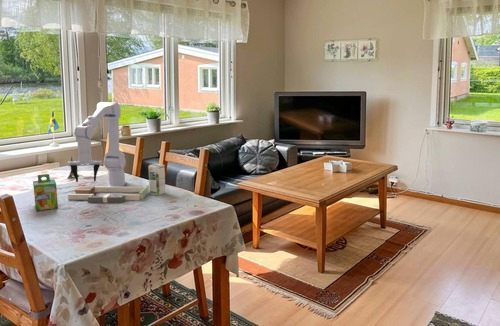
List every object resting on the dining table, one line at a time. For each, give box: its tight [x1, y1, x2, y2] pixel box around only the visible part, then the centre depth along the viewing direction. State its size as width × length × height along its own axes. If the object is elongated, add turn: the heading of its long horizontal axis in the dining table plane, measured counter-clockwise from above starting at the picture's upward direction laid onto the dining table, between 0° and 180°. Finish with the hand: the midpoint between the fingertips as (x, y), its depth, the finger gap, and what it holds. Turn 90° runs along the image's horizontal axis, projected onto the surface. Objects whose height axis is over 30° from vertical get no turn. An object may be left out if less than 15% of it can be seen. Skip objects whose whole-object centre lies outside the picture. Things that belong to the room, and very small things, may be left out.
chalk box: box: [32, 173, 59, 212], centre depth 197 cm, size 9×9×15 cm
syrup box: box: [148, 163, 166, 196], centre depth 217 cm, size 6×6×14 cm
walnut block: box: [74, 185, 96, 195], centre depth 215 cm, size 7×7×4 cm
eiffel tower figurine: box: [60, 155, 88, 180], centre depth 248 cm, size 15×10×13 cm
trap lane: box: [67, 184, 150, 204], centre depth 213 cm, size 18×35×4 cm, turn 89°
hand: (86, 181), depth 204 cm, fingers open, 7 cm apart
